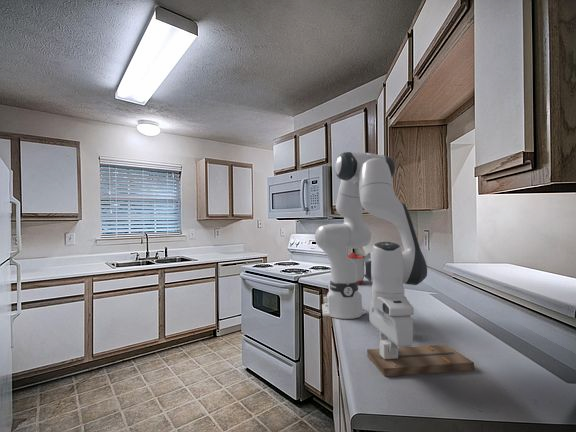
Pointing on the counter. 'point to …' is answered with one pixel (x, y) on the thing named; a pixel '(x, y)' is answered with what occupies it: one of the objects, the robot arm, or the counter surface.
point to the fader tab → (386, 350)
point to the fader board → (421, 360)
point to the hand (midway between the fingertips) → (388, 350)
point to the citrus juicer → (358, 266)
